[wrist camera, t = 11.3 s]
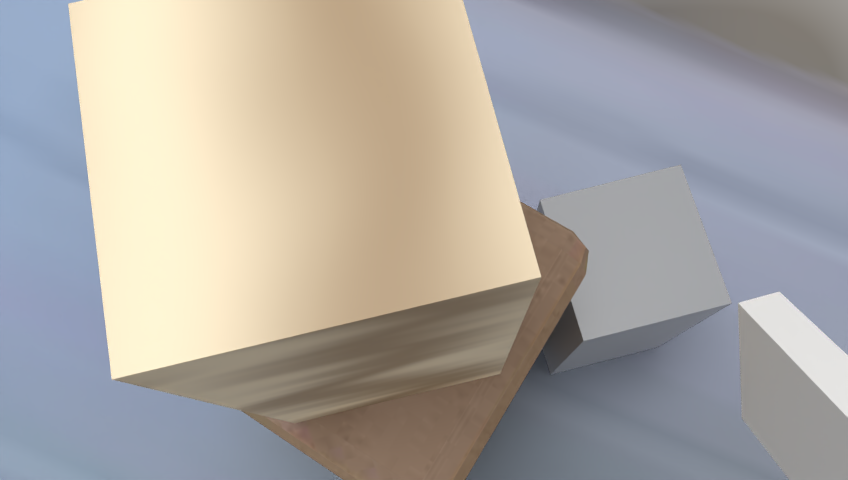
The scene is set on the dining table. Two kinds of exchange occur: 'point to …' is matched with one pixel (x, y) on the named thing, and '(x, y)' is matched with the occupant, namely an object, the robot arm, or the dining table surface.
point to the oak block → (298, 200)
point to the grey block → (633, 269)
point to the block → (446, 391)
